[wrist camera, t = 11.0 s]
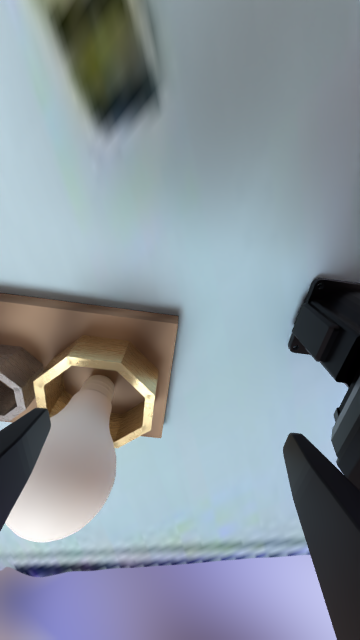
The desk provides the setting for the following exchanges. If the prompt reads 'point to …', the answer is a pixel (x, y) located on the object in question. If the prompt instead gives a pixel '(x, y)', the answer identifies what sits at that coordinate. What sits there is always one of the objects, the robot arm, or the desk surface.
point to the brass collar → (107, 357)
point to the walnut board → (99, 321)
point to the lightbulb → (70, 468)
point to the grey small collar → (16, 380)
